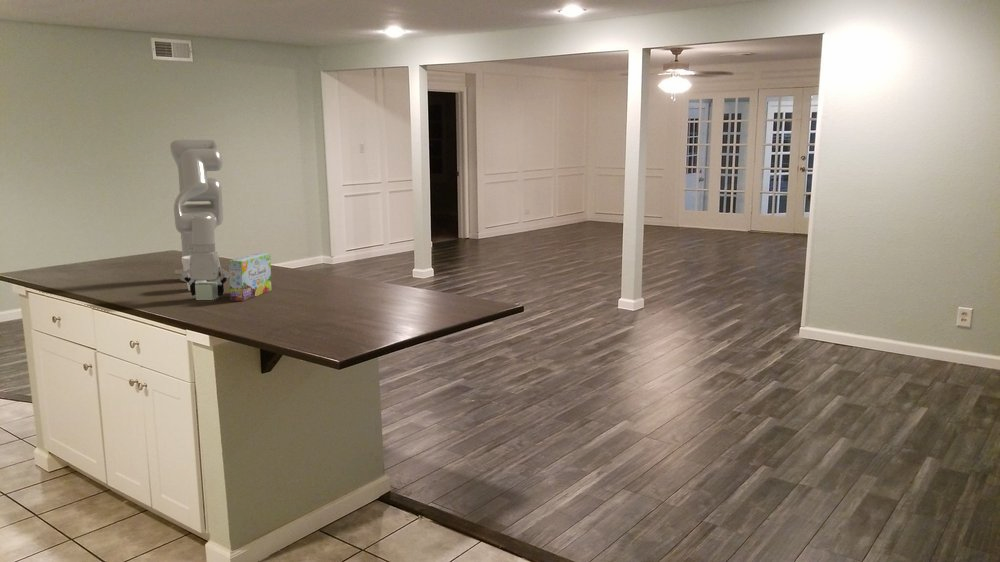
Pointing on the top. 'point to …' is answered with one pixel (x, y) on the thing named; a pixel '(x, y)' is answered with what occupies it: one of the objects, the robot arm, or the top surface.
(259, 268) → the snack box
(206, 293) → the sage block
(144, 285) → the top surface
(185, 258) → the foam cup
